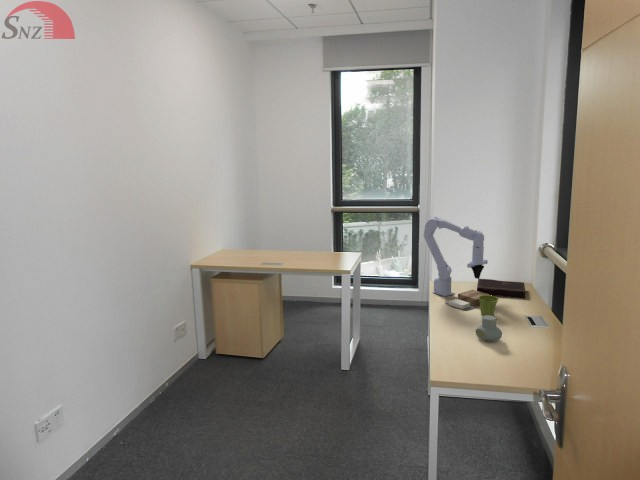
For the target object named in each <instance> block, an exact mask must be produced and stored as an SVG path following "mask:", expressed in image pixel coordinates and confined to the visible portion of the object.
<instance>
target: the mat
mask: <svg viewBox="0 0 640 480" xmlns="http://www.w3.org/2000/svg"><path fill="white" fill-rule="evenodd" d="M445 304H446V305H447V306H450V305H449V301H448V302H445ZM476 308H477V309H478V306H477V307H475V306H472V305H470V307H467V308H464V309H462V310H463V311H466V312H467V311H470V310H473V309H476Z"/></svg>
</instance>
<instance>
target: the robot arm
mask: <svg viewBox="0 0 640 480" xmlns="http://www.w3.org/2000/svg"><path fill="white" fill-rule="evenodd" d="M437 229H438V230H439V229H446V230H450V231H453V232H455V233H458V234H459V235H458V236H460V237H462V238H464V239H467V240H469V241H472V242H473V243H472V251H471V255H472V257H471V262H469V263H467V264H466V265H467V268H469V269H471V271H472V272H473V275H474V279H477V280H478V279H481V274H482V271H483V270H484V268H485V265H487V264H488V262H489V261H488V260H487V259H484V254H485V253H484V252H485V251H484V248H485V246H484V241H485V235H484V233H483V232H481V231H480V230H479V231H478V230H477V229H475V230H474V229H471V228H470V227H469V226H468V225H467V226H464V225H463V226H461V227H460V226H458V225H456V224H454V223H452V222H450V221H448V220H445V219H443V218H438V217H437V216H432V217H430V218H429V219H428V220H427V222H426V223H425V225H424V230H423V238H424V240H425V242H426V244H427V246H428V247H427V248H428V249H429V251H430V253H431V255H432V257H433V260H434V261H435V265H436V268H437V269H436V270H437V272H438V273H437V274H438V276H436V277H435V278H434V280H433V291H432V293H434V294H437V295H439V296H443V297H447V296H452V295H454V294H455V292H453V291H452V277H451V274H452V268H451V266H450V265H449V264H448V262H447V261H446V260H445V258H444V255H443V254H442V252H441V249H440V247H439V246H438V245H439V244H438V243H437V241H436V239H435V236H434V234H435V232H436V230H437Z"/></svg>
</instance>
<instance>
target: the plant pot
mask: <svg viewBox="0 0 640 480" xmlns="http://www.w3.org/2000/svg"><path fill="white" fill-rule="evenodd" d="M478 299H479V302H480V306H479V307H480V315H481V316H482V317H483V316H486V315H490V316H494V317H495V312H496V308H497V303H498V302H499V298H498V296H490V295H482V296H479V297H478Z"/></svg>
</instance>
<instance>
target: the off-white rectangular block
mask: <svg viewBox="0 0 640 480" xmlns="http://www.w3.org/2000/svg"><path fill="white" fill-rule="evenodd" d="M448 302H449V305H448V306H451V307H454V308H457V309H460V310H463V309H464V308H467V307H470V303H468V302H465V301H462V300H459V299H458V298H453V299H450V300H448Z"/></svg>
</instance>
